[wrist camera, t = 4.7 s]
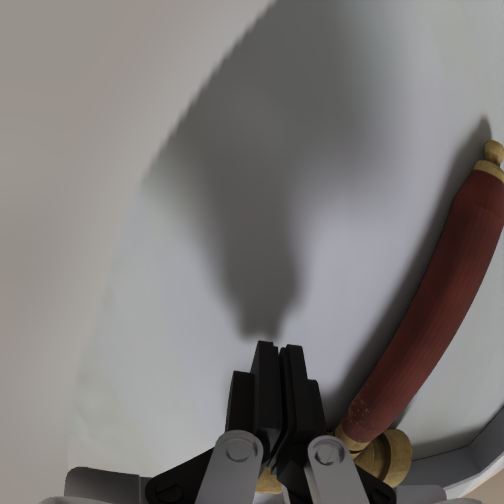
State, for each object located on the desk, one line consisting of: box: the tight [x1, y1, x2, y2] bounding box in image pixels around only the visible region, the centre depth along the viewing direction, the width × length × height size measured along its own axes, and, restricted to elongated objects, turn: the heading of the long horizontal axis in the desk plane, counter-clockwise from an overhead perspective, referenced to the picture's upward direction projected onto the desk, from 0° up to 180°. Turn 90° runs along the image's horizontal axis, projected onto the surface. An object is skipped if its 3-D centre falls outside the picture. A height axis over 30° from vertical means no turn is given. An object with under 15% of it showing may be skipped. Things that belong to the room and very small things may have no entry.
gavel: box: [255, 140, 504, 494], centre depth 11 cm, size 21×5×10 cm
